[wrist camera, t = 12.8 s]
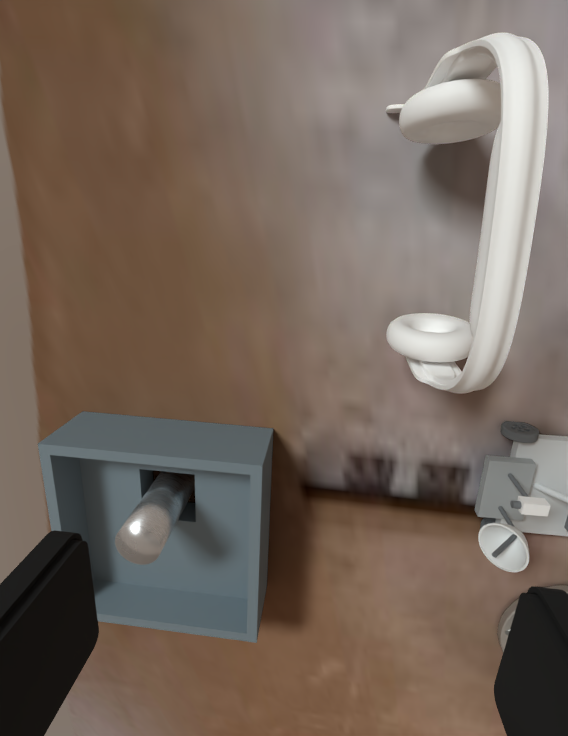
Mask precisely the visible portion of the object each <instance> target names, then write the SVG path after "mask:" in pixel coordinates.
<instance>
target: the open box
mask: <svg viewBox="0 0 568 736" xmlns="http://www.w3.org/2000/svg"><path fill="white" fill-rule="evenodd" d="M38 448H39V455H40V461H41V467H42V474H43V480H44V486H45V493H46V499H47V505H48V512H49V518H50V524H51V531H54V530H55V531H64V532H72V533H79V534H80V535H81V536H82V540H83V541H86V542H87V543H88V548H89V556H90V564H91V572H92V580H93V588H94V596H95V604H96V612H97V620H98V621H101V622H108V623H116V624H123V625H130V626H138V627H145V628H153V629H160V630H167V631H175V632H182V633H189V634H197V635H204V636H211V637H219V638H226V639H234V640H241V641H248V642H256V643H257V638H258V632H259V627H260V621H261V616H262V610H263V605H264V599H265V594H266V588H267V572H268V547H269V523H270V499H271V474H272V450H273V429H272V428H261V427H250V426H239V425H228V424H217V423H206V422H194V421H183V420H172V419H161V418H150V417H139V416H128V415H117V414H105V413H94V412H81V413H80V414H78V415H77V416H76V417H74V418H73V419H72V420H70V421H69V422H67V423H66V424H65V425H63V426H62V427H60V428H59V429H58V430H56V431H55V432H53V433H52V434H51V435H49V436H48V437H47V438H45V439H44V440H42V441H41V442H40V443H38ZM153 470H154V471H164V472H174V473H184V474H194V475H195V503H189V502H187V504H186V506H185V508H184V510H183V512H182V514H181V515H180V517H179V519H178V521H177V523H176V525H175V527H174V529H173V531H172V532H171V534H170V536H169V538H168V540H167V542H166V544H165V546H164V547H163V549H162V551H161V553H160V555H159V557H158V558H157V559H156V560H155V561H154V562H152V563H150V564H145V565H140V564H135V563H132V562H130V561H128V560H126V559H125V558H124V557H122V556H121V555H120V553H119V552H118V550H117V548H116V545H115V537H116V535H117V533H118V532H119V530H120V529H121V527H122V526H123V524H124V523H125V522H126V520H127V519H128V517H129V516H130V515H131V513H132V512H133V510H134V509H135V508H136V506H137V505H138V503H139V502H140V500H141V499H142V498H143V496H144V495H145V493H146V492H147V491H148V489H149V488H150V486H151V485H152V484H153Z"/></svg>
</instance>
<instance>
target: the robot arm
mask: <svg viewBox="0 0 568 736" xmlns="http://www.w3.org/2000/svg"><path fill="white" fill-rule="evenodd" d="M98 633H99V627H98V620H97V612H96V604H95V596H94V588H93V580H92V572H91V564H90V556H89V548H88V543H87V542H86V541H83V540H82V536H81V535H80V534H79V533H72V532H64V531H55V530H54V531H51V532H50V533H48V534H47V535H46V536H45V537H44V539H42V540H41V542H40V543H39V544H38V545H37V546H36V547H35V548H34V549H33V550H32V551H31V552H30V553H29V554H28V555H27V557H25V559H24V560H23V561H22V562H21V563H20V564H19V565H18V566H17V567H16V568H15V569H14V570H13V571H12V572H11V573H10V575H9V576H8V577H7V578H6V579H5V580H4V581H3V582H2V583H1V584H0V736H44V735H45V733H46V731H47V729H48V728H49V726H50V724H51V722H52V721H53V719H54V717H55V715H56V714H57V712H58V710H59V708H60V706H61V705H62V703H63V701H64V700H65V698H66V696H67V694H68V693H69V691H70V689H71V687H72V686H73V684H74V682H75V680H76V679H77V677H78V675H79V673H80V672H81V670H82V668H83V666H84V665H85V663H86V661H87V659H88V658H89V656H90V654H91V652H92V651H93V649H94V647H95V644H96V642H97V638H98ZM497 635H498V640H499V643H500V646H501V648H502V651H503V656H502V659H501V663H500V666H499V670H498V673H497V677H496V680H495V685H494V695H495V701H496V705H497V708H498V711H499V714H500V717H501V720H502V723H503V725H504V728H505V731H506V734H507V736H568V585H558V586H550V587H544V588H543V587H531V588H529V590H528V592H527V593H522V594H521V595H520V597H519V599H517V600H516V601H514V602H513V603H512V604H511V605H510V606H509V607H508V608H507V609H506V610H505V612H504V614H503V615H502V617H501V619H500V622H499V625H498V633H497Z"/></svg>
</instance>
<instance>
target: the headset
mask: <svg viewBox="0 0 568 736" xmlns="http://www.w3.org/2000/svg"><path fill="white" fill-rule="evenodd" d="M496 67H498V71H499V77H500V83H498V82H495V81H492V80H487V79H486V78H487V77H488V76H489V75H490V74H491V72H492V71H493V70H494V69H495V68H496ZM386 113H400V117H399V126H400V130H401V132H402V134H403V135H404V137H405V138H407V139H408V140H410V141H413V142H417V143H422V144H448V143H456V142H462V141H466V140H471V139H474V138H478V137H480V136H483V135H486V134H488V133H490V132H492V131H494V130H495V129H496V128H498V129H497V132H496V136H495V139H494V143H493V148H492V153H491V159H490V165H489V172H488V180H487V188H486V196H485V204H484V212H483V220H482V228H481V236H480V243H479V251H478V258H477V265H476V272H475V279H474V286H473V293H472V300H471V308H470V323H469V322H467V321H465V320H462V319H460V318H457V317H453V316H448V315H442V314H432V313H417V314H408V315H404V316H400V317H398V318H396V319H394V320H393V321H392V322H391V323H390V325H389V326H388V329H387V334H386V336H387V341H388V343H389V345H390V346H391V348H392V349H393V350H395V351H396V352H398V353H399V354H401V355H404V356H405V358H406V360H407V362H408V364H409V367H410V369H411V371H412V373H413V375H414V376H415V378H416V379H417V380H419V381H421V382H423V383H426V384H429V385H431V386H433V387H435V388H437V389H441V390H446V391H449V392H452V393H458V394H464V393H469V392H472V391H476V390H481V389H484V388H486V387H488V386H489V385H490V384H492V383H493V382H494V380H495V379H496V378H497V376H498V375H499V373H500V372H501V370H502V368H503V366H504V363H505V361H506V359H507V356H508V353H509V350H510V347H511V344H512V340H513V337H514V333H515V329H516V325H517V321H518V316H519V312H520V307H521V302H522V297H523V292H524V286H525V281H526V275H527V269H528V264H529V258H530V252H531V246H532V239H533V233H534V227H535V221H536V214H537V208H538V201H539V194H540V187H541V180H542V172H543V164H544V156H545V147H546V136H547V124H548V78H547V70H546V65H545V61H544V58H543V55H542V53H541V51H540V49H539V47H538V46H537V45H536V44H535V43H534V42H533V41H532V40H530V39H528V38H525V37H517V36H516V35H513V34H510V33H495V34H491V35H488V36H485V37H483V38H480V39H478V40H474V41H471V42H468V43H466V44H464V45H462V46H460V47H458V48H455V49H453V50H451V51H449V52H447V53H446V54H445V55H444V56H443V57H442V58H441V59H440V61H439V62H438V64H437V66H436V68H435V69H434V71H433V73H432V75H431V77H430V79H429V81H428V83H427V85H426V86H425V88H424V90H422V91H420V92H418V93H417V94H415V95H414V96H412V97H411V98H410V99H409V100H408V101H407V102H406V103H405V104H399V105H389V106H388V107H387V108H386ZM467 357H468V359H467V362H466V364H465V367H464V369H463V371H461V370H460V368H459V367H458V366H457V364H456V363H455V362H454V361H458V360H462V359H465V358H467Z"/></svg>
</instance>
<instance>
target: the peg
mask: <svg viewBox="0 0 568 736" xmlns="http://www.w3.org/2000/svg"><path fill="white" fill-rule="evenodd" d="M194 489H195V475H194V474H184V473H174V472H164V471H161V472H160V474H159V475H158V476H157V478H156V479H155V481H154V482H153V484H152V485H151V486H150V488H149V489H148V491H147V492H146V493H145V495H144V496H143V498H142V499H141V500H140V502H139V503H138V505H137V506H136V508H135V509H134V510H133V512H132V513H131V515H130V516H129V517H128V519H127V520H126V522H125V523H124V524H123V526H122V527H121V529H120V530H119V532H118V533H117V535H116V537H115V545H116V548H117V550H118V552H119V553H120V555H121V556H122V557H124V558H125V559H126V560H128V561H130V562H132V563H135V564H140V565H145V564H150V563H152V562H154V561H155V560H156V559H157V558H158V557H159V555H160V553H161V551H162V549H163V547H164V546H165V544H166V542H167V540H168V538H169V536H170V534H171V532H172V531H173V529H174V527H175V525H176V523H177V521H178V519H179V517H180V515H181V514H182V512H183V510H184V508H185V506H186V504H187V502H188V500H189V498H190V497H191V495H192V493H193V491H194Z"/></svg>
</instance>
